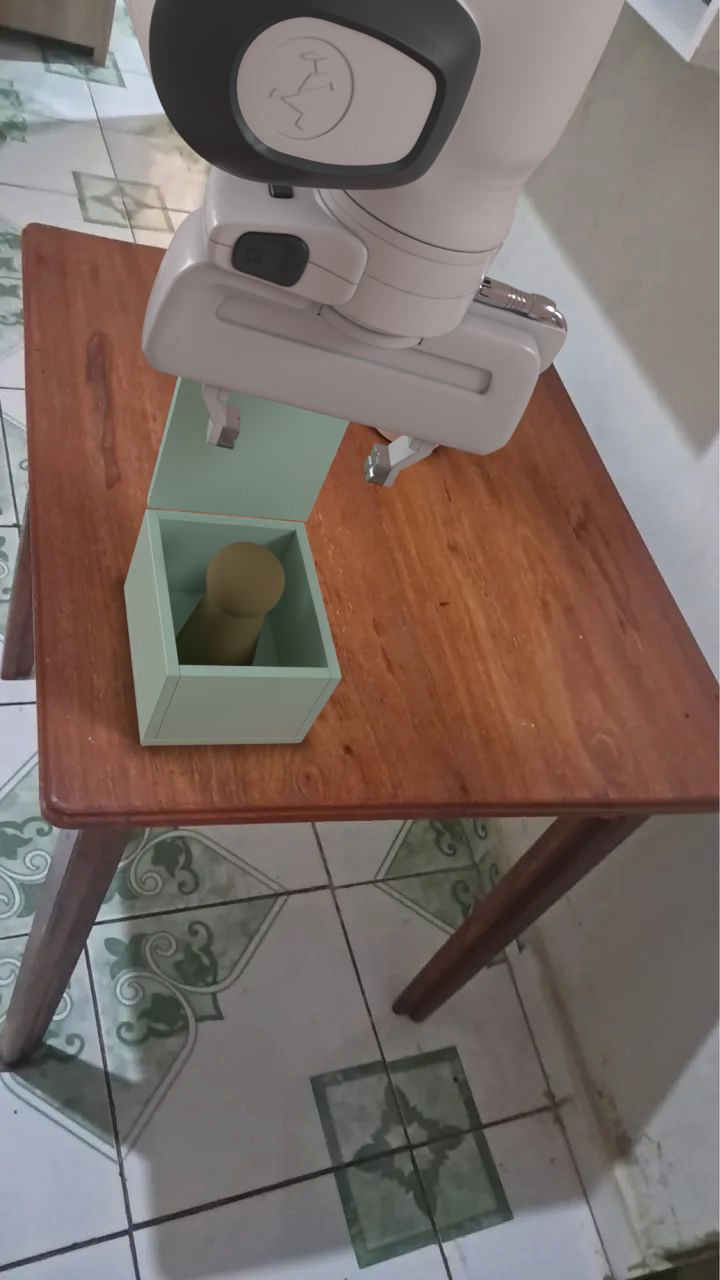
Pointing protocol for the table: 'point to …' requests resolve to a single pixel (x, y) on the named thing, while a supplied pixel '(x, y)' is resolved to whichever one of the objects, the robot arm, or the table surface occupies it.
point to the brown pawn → (232, 607)
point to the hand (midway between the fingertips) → (299, 459)
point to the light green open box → (225, 695)
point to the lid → (244, 458)
